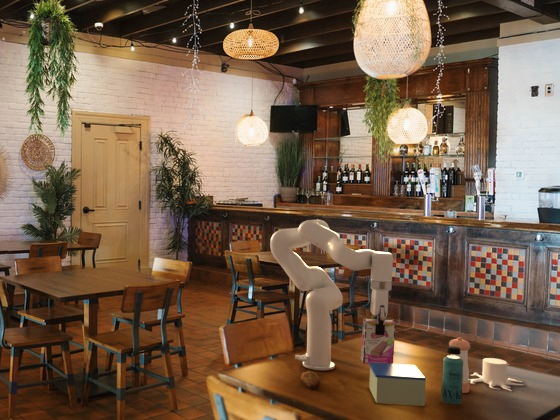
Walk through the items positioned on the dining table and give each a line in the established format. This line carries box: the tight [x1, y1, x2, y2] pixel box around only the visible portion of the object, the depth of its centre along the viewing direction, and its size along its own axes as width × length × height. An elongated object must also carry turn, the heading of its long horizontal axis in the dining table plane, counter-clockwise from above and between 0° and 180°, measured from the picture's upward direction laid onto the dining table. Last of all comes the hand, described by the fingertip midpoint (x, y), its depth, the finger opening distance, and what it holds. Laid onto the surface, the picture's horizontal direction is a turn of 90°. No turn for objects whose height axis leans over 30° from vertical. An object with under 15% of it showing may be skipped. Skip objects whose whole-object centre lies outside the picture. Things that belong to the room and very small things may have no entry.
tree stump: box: [468, 357, 525, 392], centre depth 245 cm, size 20×19×8 cm
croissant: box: [300, 370, 320, 389], centre depth 240 cm, size 14×7×5 cm, turn 174°
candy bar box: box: [360, 318, 397, 365], centre depth 244 cm, size 11×5×16 cm, turn 84°
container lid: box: [368, 362, 427, 380], centre depth 226 cm, size 16×16×1 cm
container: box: [369, 367, 427, 407], centre depth 226 cm, size 16×16×9 cm
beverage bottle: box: [440, 346, 464, 405], centre depth 218 cm, size 6×7×20 cm
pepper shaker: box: [448, 336, 471, 394], centre depth 235 cm, size 7×7×19 cm
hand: (378, 332), depth 244 cm, fingers closed on candy bar box, 5 cm apart
